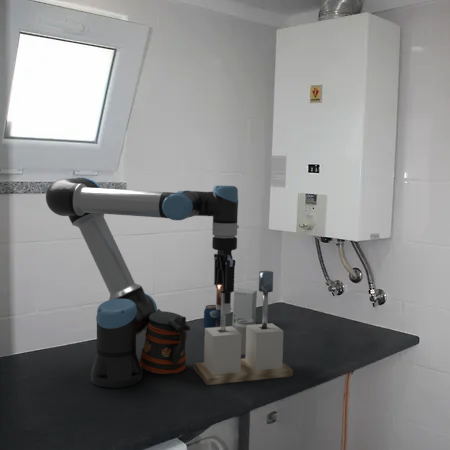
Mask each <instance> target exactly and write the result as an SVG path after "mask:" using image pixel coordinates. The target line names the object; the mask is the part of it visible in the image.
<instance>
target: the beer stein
mask: <svg viewBox="0 0 450 450" xmlns="http://www.w3.org/2000/svg"><path fill="white" fill-rule="evenodd" d="M149 319H150V321H149V322H148V327H147V330H145V334H144V335H145V339H144V344H143V348H142V349H141V352H140V360H139V364H140V367H141V369H144V370H145V371H147V372H150V373H153V374H157V375H175V374H179V373H181V372H182V371H185V369H186V365H187V363H186V361H187V353H186V342H187V338H188V337H187V333H188V332H187V331H190V330H191V326H190V325H188V324H187V317H186V316H183V315H181V314H178V313H176V312H171V311H164V310H161V309H160V308H157V312H155V313H153V314H151V315H150V316H149Z"/></svg>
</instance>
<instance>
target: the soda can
mask: <svg viewBox="0 0 450 450" xmlns="http://www.w3.org/2000/svg"><path fill="white" fill-rule="evenodd" d="M220 319H221V310H216V304H209V305H208V304H207V305H205V308H204V310H203V336H204V337H205V328H213V327H220Z"/></svg>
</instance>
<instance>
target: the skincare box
mask: <svg viewBox="0 0 450 450" xmlns="http://www.w3.org/2000/svg"><path fill="white" fill-rule="evenodd" d="M257 298H258V290H257V289H249V288H239V287H238V288H236V289H234V292H233V305H232V306H233V308H232V323H231V324H232V325H231V326H232V327H233V328H234V323H235V322H236V319H238V318H250V319H253V322H254V324H256V315H257V311H256V310H257Z"/></svg>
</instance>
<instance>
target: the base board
mask: <svg viewBox="0 0 450 450" xmlns="http://www.w3.org/2000/svg"><path fill="white" fill-rule="evenodd" d="M193 366H194V367H193V369H194V371H195V372H196V373H197V374H198V376H199V377H200V378H201V380H202V381H203V382H204V384H205V385H206V386H210V385H211V386H212V385H222V384H229V383H238V382H239V383H240V382H249V381H259V380H267V379H269V380H270V379H278V378H279V379H280V378H287V377H293V374H294V373H293V372H294V370H293V369H292V367H290V366H289V365H287V364H286V363H284V362H283V361H282V368H277V369H267V370H257V371H256V370H254V369H253V368H252V367H251V366H250V365H249V364H248V363H247V362H246V361H245V358H241V372H236V373H226V374H216V375H212V374H211V372H210V371H209V370H208V369H207V368H206V367H205V366H204V361H202V362H194V364H193Z"/></svg>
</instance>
